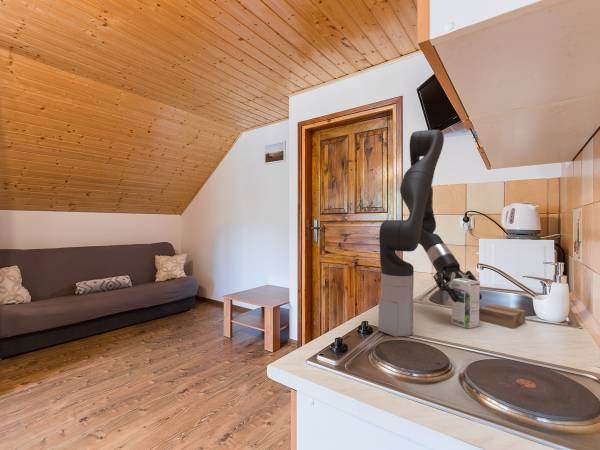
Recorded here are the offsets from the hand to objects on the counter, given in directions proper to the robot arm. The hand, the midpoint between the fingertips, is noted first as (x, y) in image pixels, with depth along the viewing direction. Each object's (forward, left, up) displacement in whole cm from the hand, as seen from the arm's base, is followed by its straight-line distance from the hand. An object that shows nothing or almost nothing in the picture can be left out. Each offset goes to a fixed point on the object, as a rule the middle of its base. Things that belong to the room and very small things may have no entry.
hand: (468, 300), depth 92 cm
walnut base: (+14, -4, -8) cm, 17 cm away
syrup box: (0, +1, -8) cm, 9 cm away
